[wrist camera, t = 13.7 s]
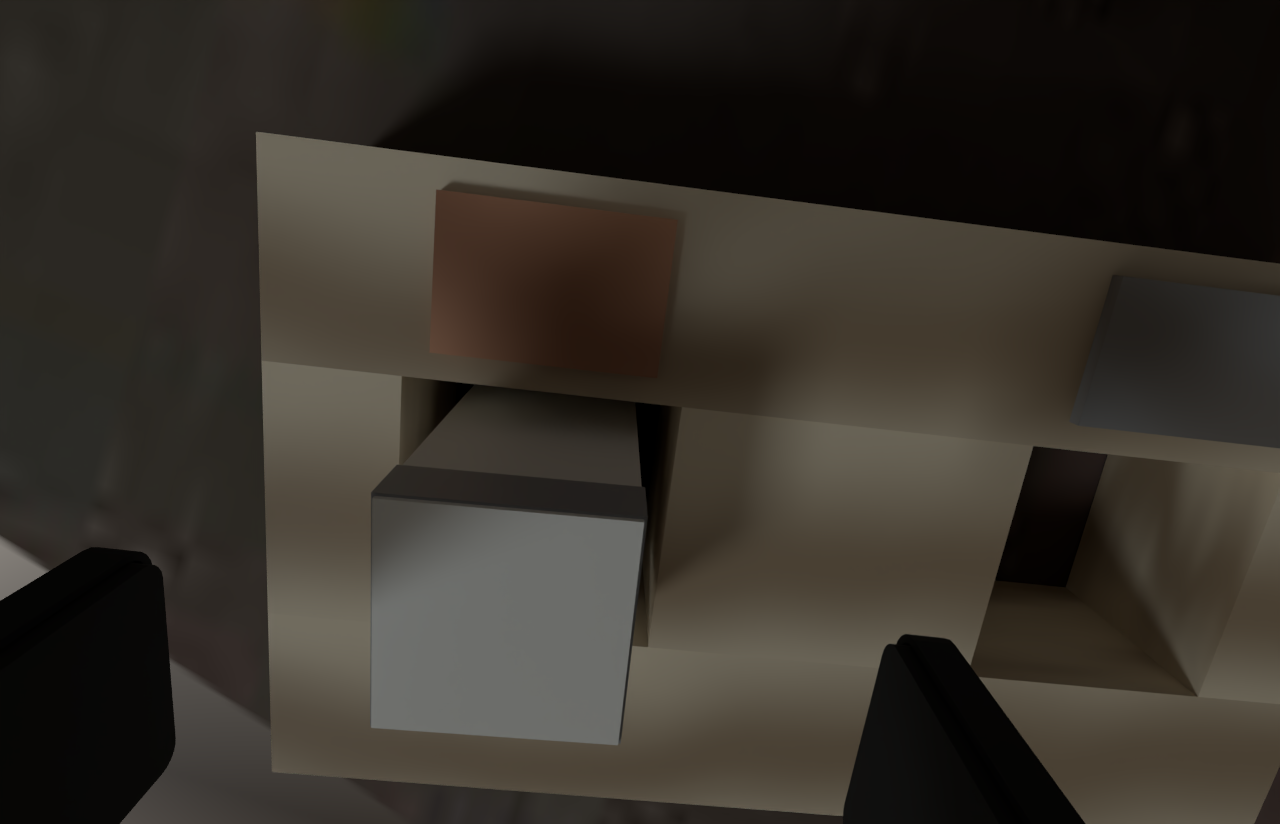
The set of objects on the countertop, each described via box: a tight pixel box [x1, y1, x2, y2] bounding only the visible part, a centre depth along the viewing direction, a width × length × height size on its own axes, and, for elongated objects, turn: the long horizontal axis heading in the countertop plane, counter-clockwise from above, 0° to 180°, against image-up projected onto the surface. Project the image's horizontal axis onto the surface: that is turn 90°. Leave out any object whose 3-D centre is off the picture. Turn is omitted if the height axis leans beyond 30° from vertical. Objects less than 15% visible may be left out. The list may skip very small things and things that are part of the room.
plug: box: [370, 384, 648, 745], centre depth 15 cm, size 4×4×9 cm
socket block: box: [256, 132, 1280, 824], centre depth 17 cm, size 14×24×5 cm, turn 83°
